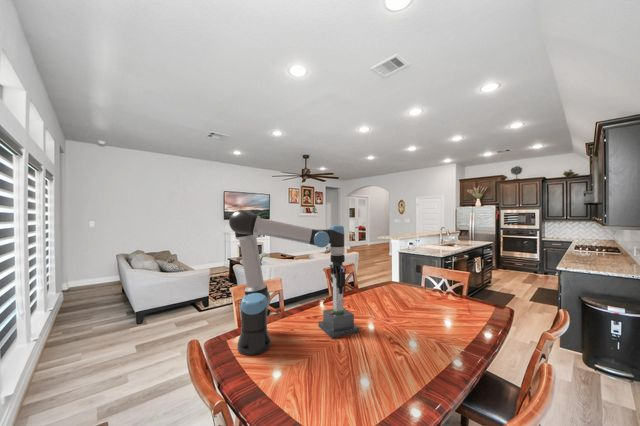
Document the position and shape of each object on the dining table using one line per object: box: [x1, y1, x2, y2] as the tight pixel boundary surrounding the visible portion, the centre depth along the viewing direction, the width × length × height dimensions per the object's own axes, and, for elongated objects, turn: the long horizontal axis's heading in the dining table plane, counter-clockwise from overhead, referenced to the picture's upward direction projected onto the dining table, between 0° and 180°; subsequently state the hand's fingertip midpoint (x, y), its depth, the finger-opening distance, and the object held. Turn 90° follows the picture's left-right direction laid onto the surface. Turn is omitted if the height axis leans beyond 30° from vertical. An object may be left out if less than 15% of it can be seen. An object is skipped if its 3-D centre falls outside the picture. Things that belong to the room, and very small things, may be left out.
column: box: [330, 273, 344, 315], centre depth 141 cm, size 6×4×24 cm
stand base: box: [318, 307, 360, 340], centre depth 141 cm, size 16×16×10 cm
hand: (337, 298), depth 141 cm, fingers closed on column, 4 cm apart
